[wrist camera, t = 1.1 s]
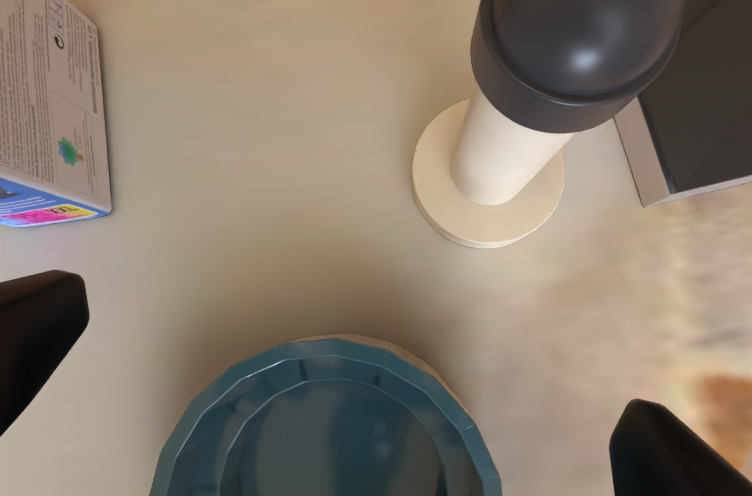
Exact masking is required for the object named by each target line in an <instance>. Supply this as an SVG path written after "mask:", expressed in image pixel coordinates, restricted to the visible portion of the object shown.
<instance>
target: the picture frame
mask: <svg viewBox="0 0 752 496" xmlns="http://www.w3.org/2000/svg"><path fill="white" fill-rule="evenodd" d="M614 117H615V120H616V123H617V127H618V130H619V133H620V136H621V139H622V142H623V145H624V148H625V151H626V154H627V157H628V160H629V164H630V167H631V170H632V173H633V176H634V179H635V182H636V185H637V188H638V191H639V194H640V197H641V201H642V204H643V207H648V206H652V205H656V204H660V203H665V202H669V201H673V200H677V199H681V198H685V197H690V196H694V195H698V194H702V193H706V192H710V191H715V190H719V189H723V188H727V187H731V186H735V185H740V184H744V183H748V182H752V0H686V3H685V9H684V12H683V15H682V24H681V30H680V36H679V39H678V42H677V46H676V49H675V51H674V53H673V55H672V57H671V59H670V61H669V62H668V63H667V65H666V66H665V68H664V69H663V71H662V72H661V73H660V74H659V75H658V76H657V77H656V78H655V79H654V80H653V81H652V82H651V83H650V84H649V85H648V86H647V87H646V88H645V89H644V90H643V91H642V92H640V93H639V94H638V95H637V96H636V97H635V98H634V99H633V100H632V101H631V102H630V103H629V104H628V105H627V106H625V107H624V108H623V109H622V110H621V111H620V112H619V113H617V114H616V115H615V116H614Z"/></svg>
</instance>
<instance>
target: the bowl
mask: <svg viewBox="0 0 752 496" xmlns="http://www.w3.org/2000/svg"><path fill="white" fill-rule="evenodd" d="M149 496H503V494H502V487H501V479H500V477H499V473H498V471H497V469H496V467H495V464H494V462H493V460H492V458H491V456H490V453H489V451H488V449H487V447H486V445H485V442H484V440H483V438H482V436H481V434H480V431H479V429H478V427H477V425H476V423H475V421H474V420H473V418H472V417H471V415H470V414H469V412H468V411H467V409H466V408H465V406H464V405H463V403H462V402H461V400H460V399H459V397H458V396H457V395H456V394H455V393H454V392H453V391H452V389H451V388H450V387H449V386H448V385H447V384H446V383H445V382H444V380H443V379H442V378H441V377H440V376H439V375H438V374H437V373H436V371H435V370H434V369H433V368H432V367H431V366H429V364H428V363H426V362H424V361H422V360H421V359H419V358H417V357H416V356H414V355H412V354H411V353H409V352H407V351H406V350H404V349H402V348H401V347H399V346H397V345H395V344H394V343H390V342H389V341H384V340H380V339H375V338H371V337H366V336H362V335H357V334H353V333H341V334H331V335H321V336H311V337H305V338H301V339H297V340H293V341H289V342H285V343H281V344H278V345H276V346H274V347H271V348H269V349H267V350H265V351H262V352H260V353H258V354H256V355H253V356H251V357H249V358H247V359H244V360H242V361H240V362H238V363H235V364H234V365H233V366H230V367H229V368H228V369H227V370H226V371H225V372H223V373H222V374H221V375H220V376H219V377H218V378H217V379H216V380H215V381H213V382H212V383H211V384H210V385H209V386H208V387H207V388H206V389H204V390H203V391H202V392H201V393H200V394H199V395H198V396H197V397H196V398H194V399H193V400H192V401H191V403H190V404H189V405H188V407H187V409H186V410H185V412H184V414H183V415H182V417H181V419H180V420H179V422H178V424H177V425H176V427H175V429H174V430H173V432H172V434H171V435H170V437H169V439H168V440H167V442H166V444H165V445H164V447H163V449H162V452H161V453H160V456H159V460H158V464H157V468H156V472H155V475H154V479H153V483H152V487H151V491H150V495H149Z"/></svg>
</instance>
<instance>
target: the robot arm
mask: <svg viewBox="0 0 752 496" xmlns="http://www.w3.org/2000/svg"><path fill="white" fill-rule="evenodd" d="M88 322H89V308H88V301H87V295H86V288H85V283H84V280H83V278H82V277H81V276H80V275H78V274H75V273H70V272H66V271H61V270H51V271H47V272H43V273H39V274H34V275H30V276H26V277H22V278H18V279H14V280H9V281H5V282H1V283H0V437H1V436H2V435H3V433H4V432H5V431H6V430H7V429H8V428H9V427H10V426H11V425H12V423H13V422H14V421H15V420H16V419H17V418H18V417H19V416H20V414H21V413H22V412H23V411H24V410H25V409H26V407H27V406H28V405H29V404H30V403H31V401H32V400H33V399H34V397H35V396H36V395H37V394H38V392H39V391H40V390H41V388H42V387H43V386H44V384H45V383H46V382H47V380H48V379H49V378H50V376H51V375H52V374H53V372H54V371H55V370H56V368H57V367H58V365H59V364H60V363H61V361H62V360H63V359H64V357H65V356H66V355H67V353H68V352H69V351H70V349H71V348H72V347H73V345H74V344H75V343H76V341H77V340H78V339H79V337H80V336H81V335H82V333H83V332H84V330H85V329H86V327H87V325H88ZM609 453H610V461H611V469H612V477H613V485H614V493H615V496H752V483H751V482H750V481H749V480H748V479H747V478H746V477H745V476H743V475H742V474H741V473H740V472H739V471H738V470H737V469H735V468H734V467H733V466H732V465H731V464H730V463H729V462H727V461H726V460H725V459H724V458H723V457H722V456H721V455H719V454H718V453H717V452H716V451H715V450H714V449H713V448H711V447H710V446H709V445H708V444H707V443H706V442H705V441H704V440H702V439H701V438H700V437H699V436H698V435H697V434H696V433H694V432H693V431H692V430H691V429H690V428H689V427H688V426H686V425H685V424H684V423H683V422H682V421H681V420H680V419H678V418H677V417H676V416H675V415H674V414H673V413H672V412H670V411H669V410H668V409H667V408H666V407H665V406H663V405H661V404H659V403H655V402H650V401H646V400H641V399H633V400H631V401H630V402H629V403H628V404H627V406H626V408H625V410H624V412H623V414H622V416H621V418H620V419H619V421H618V423H617V425H616V427H615V429H614V431H613V433H612V435H611V438H610V444H609Z"/></svg>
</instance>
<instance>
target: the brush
mask: <svg viewBox="0 0 752 496" xmlns="http://www.w3.org/2000/svg"><path fill="white" fill-rule="evenodd" d="M685 3H686V0H481V1H480V5H479V9H478V13H477V17H476V21H475V26H474V30H473V34H472V39H471V48H470V55H471V64H472V69H473V73H474V76H475V79H476V81H475V84H474V87H473V91H472V94H471V97H470V99H468V100H464V101H461V102H458V103H456V104H454V105H452V106H450V107H448V108H447V109H445V110H444V111H442V112H441V113H440V114H438V115H437V116H436V117H435V118H434V119H433V120H432V121H431V122H430V123H429V124H428V125H427V127H426V128H425V130H424V131H423V132H422V134H421V136H420V138H419V140H418V142H417V145H416V148H415V151H414V155H413V162H412V176H411V178H412V189H413V195H414V198H415V201H416V204H417V206H418V208H419V210H420V212H421V213H422V215H423V217H424V218H425V220H426V221H427V222H428V223H429V224H430V225H431V226H432V227H433V228H434V229H435V230H436V231H437V232H438V233H440V234H441V235H443V236H444V237H446V238H447V239H449V240H451V241H453V242H455V243H458V244H461V245H464V246H468V247H473V248H496V247H502V246H505V245H508V244H511V243H514V242H516V241H518V240H520V239H522V238H523V237H525V236H526V235H528V234H529V233H531V232H533V231H534V230H536V229H537V228H538V227H539V226H541V225H542V224H543V223H544V222H545V221H546V220H547V219H548V218H549V216H550V215H551V214H552V212H553V211H554V209H555V208H556V206H557V204H558V202H559V200H560V198H561V195H562V192H563V189H564V184H565V174H566V168H565V159H564V155H563V151H562V148H561V147H562V146H563V145H564V144H565V143H566V142H567V141H568V140H569V139H570V138H571V137H572V136H573V135H574V134H575V133H576V132H580V131H584V130H587V129H591V128H594V127H596V126H598V125H600V124H602V123H604V122H606V121H608V120H609V119H611V118H612V117H614V116H615V115H616V114H617V113H619V112H620V111H621V110H622V109H623V108H624V107H625V106H627V105H628V104H629V103H630V102H631V101H632V100H633V99H634V98H635V97H636V96H637V95H638V94H639V93H640V92H642V91H643V90H644V89H645V88H646V87H647V86H648V85H649V84H650V83H651V82H652V81H653V80H654V79H655V78H656V77H657V76H658V75H659V74H660V73H661V72H662V71H663V69H664V68H665V66H666V65H667V63H668V62H669V61H670V59H671V57H672V55H673V53H674V51H675V49H676V46H677V42H678V39H679V36H680V30H681V24H682V15H683V12H684V9H685Z"/></svg>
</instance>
